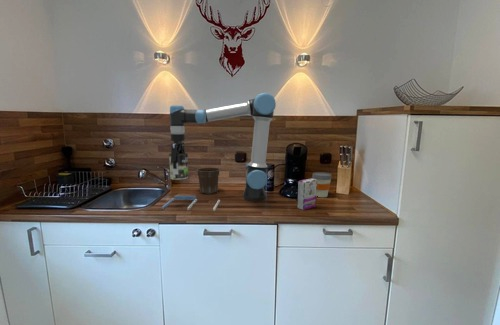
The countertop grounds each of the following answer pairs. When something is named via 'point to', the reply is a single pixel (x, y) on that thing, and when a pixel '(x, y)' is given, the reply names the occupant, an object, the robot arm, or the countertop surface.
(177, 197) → the divider rack
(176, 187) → the countertop surface
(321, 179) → the reusable coffee cup
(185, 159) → the coffee can
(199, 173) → the plant pot
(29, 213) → the countertop surface
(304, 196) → the candy bar box
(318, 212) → the countertop surface
